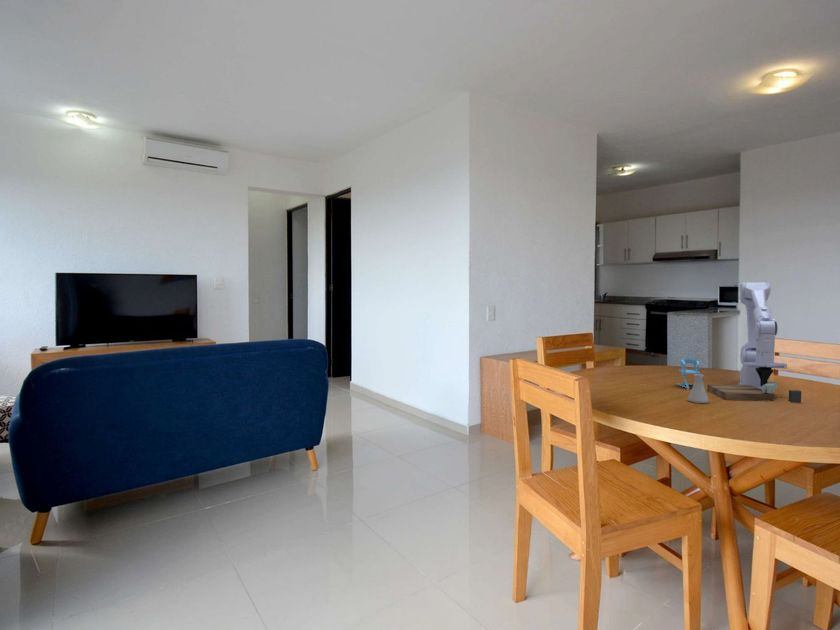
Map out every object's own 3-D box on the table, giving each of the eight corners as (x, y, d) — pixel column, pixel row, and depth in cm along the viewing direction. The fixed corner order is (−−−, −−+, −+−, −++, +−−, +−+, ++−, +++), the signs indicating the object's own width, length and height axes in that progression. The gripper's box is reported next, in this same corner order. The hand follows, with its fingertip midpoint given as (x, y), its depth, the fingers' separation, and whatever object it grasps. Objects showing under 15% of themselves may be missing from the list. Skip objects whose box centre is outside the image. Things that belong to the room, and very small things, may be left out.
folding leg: (770, 393, 176) (770, 386, 176) (761, 392, 178) (762, 385, 178) (777, 388, 184) (778, 382, 183) (769, 387, 186) (769, 381, 185)
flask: (712, 404, 173) (713, 377, 173) (691, 403, 175) (691, 376, 174) (705, 399, 180) (705, 373, 180) (684, 398, 182) (684, 372, 181)
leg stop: (788, 401, 176) (788, 389, 176) (797, 401, 175) (797, 390, 175) (791, 402, 174) (792, 391, 174) (801, 402, 173) (801, 391, 173)
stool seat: (707, 390, 195) (707, 384, 195) (750, 391, 192) (750, 384, 192) (726, 399, 179) (726, 393, 179) (773, 400, 177) (773, 394, 176)
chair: (681, 389, 198) (681, 360, 197) (676, 385, 206) (677, 357, 205) (702, 390, 195) (703, 361, 194) (697, 385, 203) (697, 357, 202)
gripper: (749, 353, 180) (748, 388, 181) (792, 353, 178) (791, 389, 179) (740, 350, 187) (739, 384, 188) (781, 350, 185) (779, 385, 186)
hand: (763, 386), depth 184 cm, fingers closed, pressing on folding leg
